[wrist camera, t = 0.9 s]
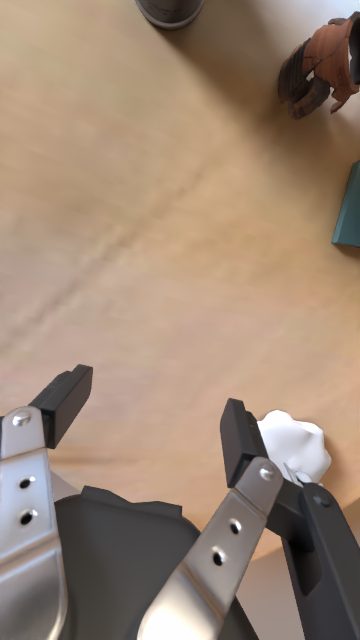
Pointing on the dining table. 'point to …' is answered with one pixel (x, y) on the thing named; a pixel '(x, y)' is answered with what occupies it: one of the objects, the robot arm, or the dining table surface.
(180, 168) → the dining table surface
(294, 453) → the figurine
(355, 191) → the stand
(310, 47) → the brown clay hollow piece
